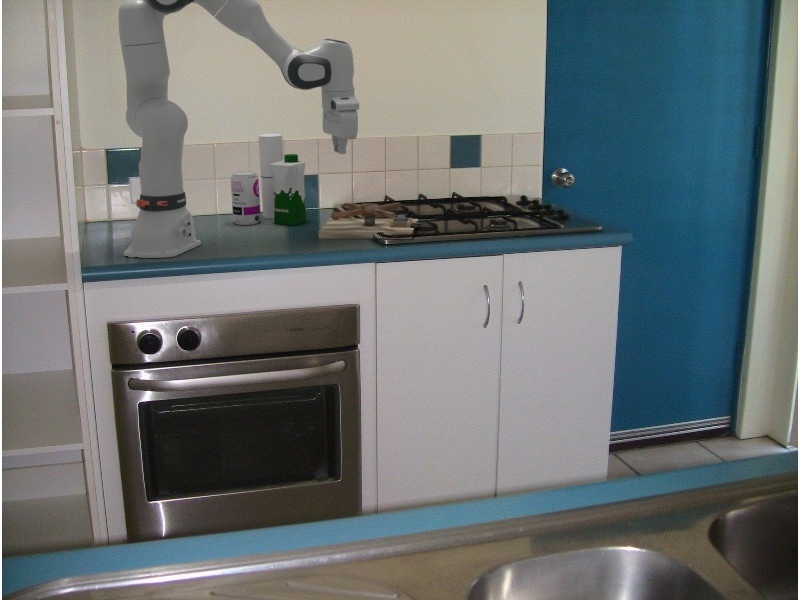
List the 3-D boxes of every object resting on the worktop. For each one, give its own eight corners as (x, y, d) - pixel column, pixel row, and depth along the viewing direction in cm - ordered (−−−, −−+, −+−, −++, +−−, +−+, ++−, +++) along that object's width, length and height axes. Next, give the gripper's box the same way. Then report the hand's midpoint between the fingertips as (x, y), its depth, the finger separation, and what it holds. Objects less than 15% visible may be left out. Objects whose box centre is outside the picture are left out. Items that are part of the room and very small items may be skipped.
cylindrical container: (266, 219, 281) (262, 137, 274) (260, 215, 287) (255, 134, 280) (289, 217, 283) (285, 135, 276) (282, 213, 290) (278, 133, 283)
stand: (412, 239, 252) (411, 223, 250) (318, 238, 254) (318, 222, 253) (418, 225, 269) (418, 210, 267) (330, 224, 272) (330, 209, 270)
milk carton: (310, 220, 278) (307, 154, 272) (293, 226, 270) (290, 158, 264) (286, 218, 282) (283, 153, 276) (269, 224, 274) (265, 157, 268)
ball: (405, 226, 258) (405, 216, 258) (395, 226, 259) (395, 216, 258) (406, 224, 261) (406, 214, 260) (396, 224, 262) (396, 213, 261)
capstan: (424, 215, 258) (424, 204, 258) (355, 227, 244) (355, 215, 243) (377, 205, 275) (376, 194, 274) (310, 215, 261) (309, 204, 260)
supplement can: (263, 220, 280) (260, 171, 276) (257, 225, 272) (254, 175, 268) (237, 219, 281) (234, 171, 276) (230, 225, 273) (226, 175, 269)
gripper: (316, 99, 255) (318, 149, 259) (338, 104, 237) (340, 158, 241) (337, 98, 257) (339, 147, 261) (361, 103, 239) (362, 156, 243)
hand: (339, 153), depth 251 cm, fingers open, 3 cm apart
